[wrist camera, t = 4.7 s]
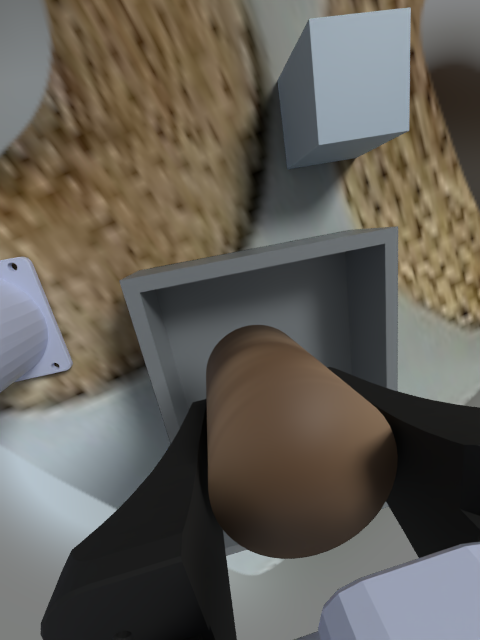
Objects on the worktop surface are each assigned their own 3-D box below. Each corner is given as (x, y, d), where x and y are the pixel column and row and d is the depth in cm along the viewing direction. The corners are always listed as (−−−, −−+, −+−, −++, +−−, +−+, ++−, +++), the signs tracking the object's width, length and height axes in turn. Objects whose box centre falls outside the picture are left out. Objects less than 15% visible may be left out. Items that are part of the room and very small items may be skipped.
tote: (205, 500, 25) (207, 561, 20) (138, 270, 19) (119, 280, 14) (361, 457, 27) (396, 504, 22) (350, 230, 20) (397, 226, 15)
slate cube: (287, 169, 18) (319, 144, 14) (277, 81, 17) (309, 18, 12) (355, 158, 19) (408, 130, 14) (351, 71, 17) (410, 7, 13)
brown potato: (223, 430, 14) (241, 584, 7) (192, 343, 13) (179, 427, 6) (312, 399, 14) (409, 519, 8) (290, 311, 13) (380, 359, 6)
